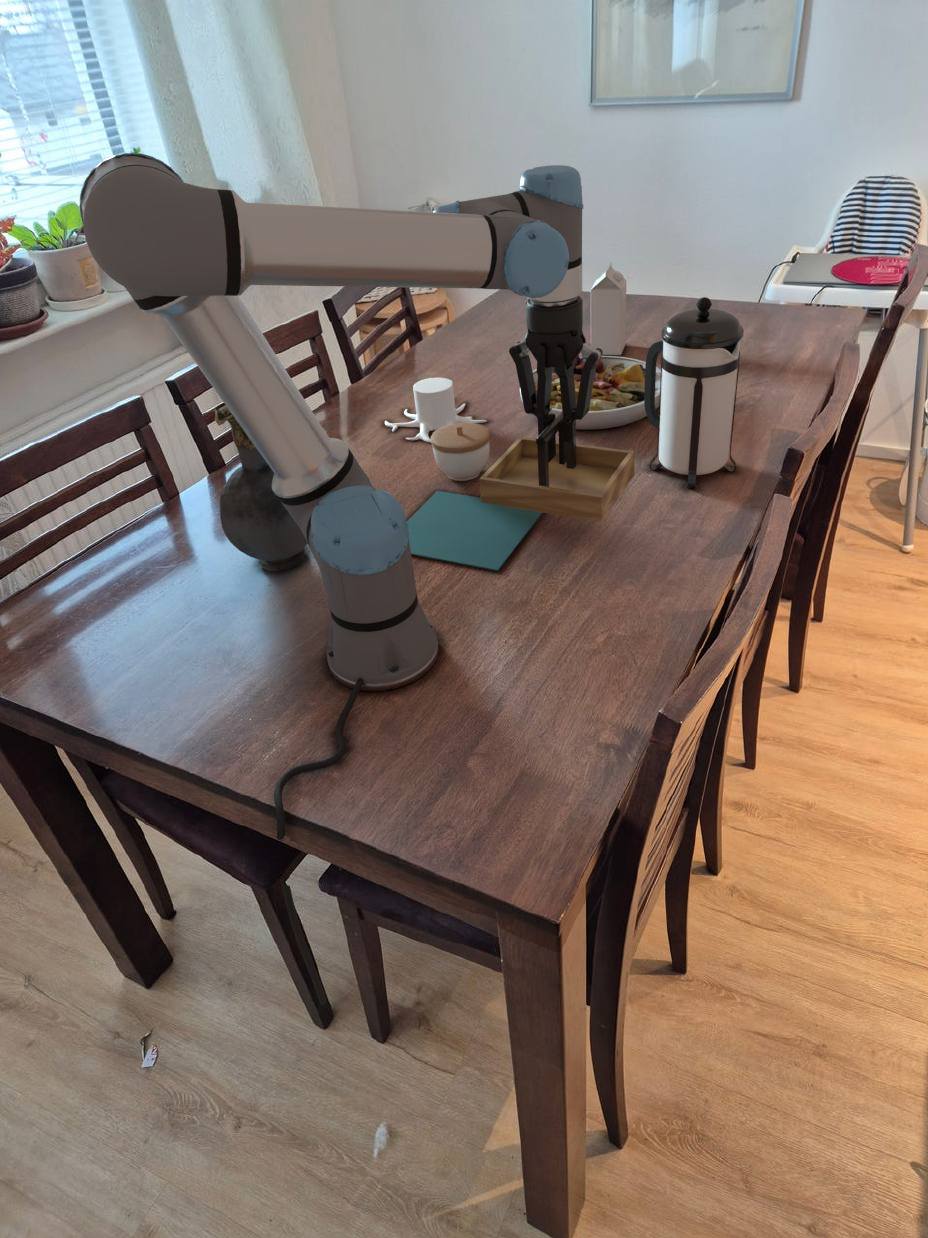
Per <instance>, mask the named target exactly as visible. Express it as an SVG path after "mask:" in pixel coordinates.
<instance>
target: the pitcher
mask: <svg viewBox="0 0 928 1238" xmlns="http://www.w3.org/2000/svg"><path fill="white" fill-rule="evenodd" d="M213 411H214V413H215V417H214V421H215V423H216V424H217V426H221V425H224V424H225V423H226V422H228V423H229V425H230V429H231V435H232V439H233V443H234V445H235V447H236V449H237V452H238V456H239V460H240V467H238V468H236V469H235V470H234V471H233V472H232V473H231V474H230V476H229V477H228V479H227V481H226V482H225V484H224V486H223V487H222V490H221V492H220V496H219V518H220V524H221V528H222V530H223V533H224V535H225V537H226V538H227V540H228V541H229V542H230V544H232V545H233V546H234V548H236V549H237V550H238V551H239V552H241V553H243V554H244V555H246V556H248V557H250V558H253V559H256V560H258V563H259V565H260V567H261V568H262V569H263V570H266V571H269V572H281V571H286V570H289V569H292V568H294V567H296V566H297V565H298V564H299V563H301V562H302V560H303V559H304V558H305V555H306V549H305V547H306V546H307V545H308V543H307V541H306V539H305V537H304V535H303V533H302V531H301V530H300V528H299V526H298V525H297V524H296V522H295V521H294V519H293V518H292V517H291V515H290V514H289V512H288V511H287V510H286V508H285V507H284V505H283V504H282V503H281V501H280V500H279V499H278V497H277V496H276V494H275V493H274V491H273V490H272V480H273V476H274V472H273V471H272V469H271V468H270V466H269V465H268V464H267V462H266V461H265V459H264V458H263V457H262V455H261V454H260V452H259V451H258V450H257V448H256V447H255V445H254V444H253V443H252V441H251V440H250V438H249V437H248V436H247V434H246V433H245V431H244V430H243V429H242V427H241V426H240V424H239V423H238V422H237V420H236V419H235V417H234V416H233V415H232V413H231V412H230V410H229V409H228V408H227V406H226V405H225V403H224V402H223V403H220V404H218V405H217V406H215V407H214V409H213Z"/></svg>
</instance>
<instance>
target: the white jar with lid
mask: <svg viewBox="0 0 928 1238" xmlns="http://www.w3.org/2000/svg"><path fill="white" fill-rule="evenodd" d="M490 435H491V433H490V430H489V429H488V428H487V427H486V426H484V425H483V424H481V423H456V424H450V425H447V426H444V427H441V428H439V429H438V430H434V431H433V432H432V434H431V436H430V439H431V443H430V444H431V446H432V447H431V448H432V453H433V457H434V460H435V463H436V465H437V467H438V468H439V469H440V471H441V472H442V473H444V474H445V475H446V476H447V477H448V478H449V479H450V480H453V481H456V482H457V481H458V482H465V481H466V482H467V481H470V480H474V479H476V478H478V476H480V474H481V472H483V470H484V469H485V467H486V466H487V464H488V462H489V458H490V452H491V442H490V439H491V436H490Z"/></svg>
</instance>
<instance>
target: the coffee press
mask: <svg viewBox="0 0 928 1238" xmlns="http://www.w3.org/2000/svg"><path fill="white" fill-rule="evenodd" d="M712 304H713V303H712V301H711V299H710V298H708V297H707V296H703V297H700V298H699V299H698V301H697V303H696V305H695V306H696V308H690V309H685V310H682V311H679V312H677V313H675V314H674V315H672V316H671V317H669V319H668V320H667V321H666V323H665V326H664V327H663V328H662V329H661V333H660V334H661V335H660V336H661V340H659V341H656V342H654V343H652V344H651V345H650V347H649V348H648V350H647V353H646V358H645V362H646V365H645V389H644V404H645V411H646V414H647V416H646V417H647V419H648V421H649V423H650V424H651V425H652V426H653V427H654V428H656V429H657V446H656V447H657V448H656V454H655V455H654V456H653V458H652V459H651V460H650V461H649V469H650V470H651V471H657V470H659V469H660V468H661V467H664V468H665V469H667V470H668V471H671V472H672V473H676V474H678V475H685V476H687V486H686V487H687V488H688V489H696V485H697V484H696V482H697V476H703V475H708V474H712V473H715V472H716V471H719V470H720V469H722V468H724V469H725V470H726V471H728V472H729V473H734V472H735V471H736V470H737V462H736V461H735V460H734V458H733V457H732V454H731V453H732V442H733V433H734V432H733V431H734V422H735V411H736V404H737V403H736V402H737V393H738V383H739V371H740V360H741V351H740V345H741V341H742V339H743V337H744V333H745V330H744V327H743V325H741V321H740V319H739V318H738V317H737V316H736V315H735V314H733V313H732V312H730V311H727V310H725V309H721V308H720V309H719V308H714V307H712ZM660 353H661V355H660ZM659 355H660V356H661V359H660V369H661V377H660V399H659V407H658V412H657V409H655V382H656V367H657V362H658V357H659ZM661 378H662V385H661ZM660 400H661V404H660ZM657 457H658V460H659V463H658V464H657V465H653V463H654V462H655V461H656V459H657ZM728 460H730V461H731V463H732V464H733V467H730V466H728V464H727V462H728Z"/></svg>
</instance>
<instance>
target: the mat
mask: <svg viewBox="0 0 928 1238" xmlns="http://www.w3.org/2000/svg"><path fill="white" fill-rule="evenodd" d="M542 514H543V513H542V512H536V511H530V510H524V509H518V508H512V507H506V506H500V505H494V504H488V503H482V502H481V497H479V496H472V495H466V494H460V493H453V492H448V491H447V492H446V491H442V490H441V491H440V490H436V491H435V492H434V493H433V495H431V496H430V498H429V499H428V500H427V501H426V502H425V503H423V504H422V505H421V507H420V508H418V510H417V511H416V512H415V513H414V514H412V516H410V518H409V519H408V520H407V524H408V529H409V536H408V537H409V544H410V550H411V556H415V557H420V558H426V559H430V560H436V561H441V562H447V563H451V564H457V565H462V566H467V567H471V568H477V569H483V570H488V571H494V572H499V571H500V569H501V568H502V567H503V565H504V564H505V563H506V562H507V561H508V559H509V557H510V556H511V555H512V554H513V553H514V551H515V549H517V548H518V547H519V544H520V543H521V542H522V541H523V540H524V538H525V537H526V536H527V534H528V533H529V532H530V530H531V529H532V528H533V526H534V525H535V524H536V523H537V521H538V520H539V519H540V517H541V516H542Z"/></svg>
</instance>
